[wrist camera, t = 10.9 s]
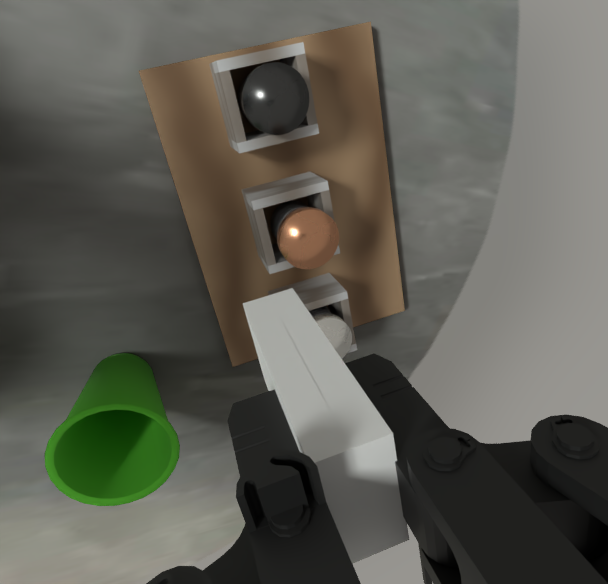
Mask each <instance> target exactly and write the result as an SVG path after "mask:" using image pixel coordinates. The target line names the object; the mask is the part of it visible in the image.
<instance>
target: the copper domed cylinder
mask: <svg viewBox="0 0 608 584" xmlns="http://www.w3.org/2000/svg"><path fill="white" fill-rule="evenodd" d="M270 225H271V231H272V233H273V235H274V236H275V238H276V239H277V244H278V248H279V250H280V252H281V254H282V255H283V256H284V258H285V259H286V260H287V261H288V262H289V263H290V264H291V265H293V266H295V267H297V268H300V269H314V268H318V267H320V266H322V265H324V264H325V263H327V262H328V261H329V260H330V259H331V258H332V256H333V255H334V253H335V252H336V250H337V247H338V243H339V231H338V227H337V225H336V223H335V221H334V220H333V219H332V218H331V217H330V216H329V215H327V214H326V213H325V212H323V211H322V210H320V209H318V208H314V207H308V206H307V205H305V204H304V203H302V202H299V201H288V202H285V203H283V204H281V205H280V206H278V207H277V208H276V210H275V211H274V213H273V214H272V217H271V223H270Z"/></svg>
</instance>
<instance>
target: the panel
mask: <svg viewBox="0 0 608 584" xmlns="http://www.w3.org/2000/svg"><path fill="white" fill-rule="evenodd" d="M273 62H279V63H284V64H287V65H289V66H291V67H293V68H294V69H296V70H297V71H298V72H299V73H300V74H301V76H302V77H303V79H304V80H305V82H306V84H307V87H308V91H309V108H308V111H307V114H306V116H305V118H304V120H303V121H302V123H301V124H300V125H299V126H298V127H297V128H296V129H294V130H293V131H291V132H289V133H286V134H283V135H271V134H267V133H265V132H262V131H260V130H258V129H257V128H255V127H254V126H253V125H252V124H251V123H250V122H249V121H248V119H247V118H246V116H245V115H244V114H243V113H242V111H241V109H240V107H239V104H238V90H239V87H240V85H241V83H242V81H243V80H244V79H245V78H246V77H247V76H248V75H249V74H250V73H251V72H252V71H253V70H254V69H256V68H257V67H259V66H261V65H264V64H267V63H273ZM139 73H140V76H141V80H142V83H143V86H144V89H145V92H146V95H147V99H148V102H149V105H150V108H151V111H152V114H153V117H154V121H155V124H156V127H157V130H158V133H159V136H160V139H161V143H162V146H163V149H164V152H165V155H166V158H167V162H168V165H169V168H170V171H171V174H172V177H173V180H174V184H175V187H176V190H177V193H178V196H179V199H180V202H181V206H182V209H183V212H184V215H185V218H186V221H187V225H188V228H189V231H190V234H191V237H192V240H193V243H194V247H195V250H196V253H197V256H198V259H199V262H200V265H201V269H202V272H203V275H204V278H205V281H206V284H207V288H208V291H209V294H210V297H211V300H212V303H213V306H214V310H215V313H216V316H217V319H218V322H219V325H220V328H221V332H222V335H223V338H224V341H225V344H226V347H227V351H228V354H229V357H230V360H231V363H232V366H233V367H234V366H237V365H241V364H244V363H247V362H250V361H253V360H256V359H258V355H257V352H256V348H255V345H254V341H253V338H252V335H251V331H250V328H249V324H248V321H247V317H246V314H245V310H244V307H243V303H246V302H249V301H252V300H255V299H259V298H262V297H265V296H268V295H272V294H275V293H278V292H281V291H285V290H288V289H291V288H293V289H294V291H295V292H296V294H297V295H298V297H299V298H300V300H301V301H302V302H303V304H304V305H305V307H306V308H307V310H308V311H310V310H313V309H317V308H320V307H323V306H326V307H327V308H328V309H329V310H330V312H331V313H332V314H334V315H337V316H339V317H340V318H341V319H343V321H344V322H345V323H346V324H347V325H348V327H349V328H350V330H351V333H352V344H351V347H350V349H349V351H348V352H347V353H350V352H353V351H356V350H357V346H356V341H355V335H354V329H353V327H356V326H359V325H362V324H365V323H368V322H372V321H375V320H378V319H381V318H384V317H387V316H390V315H393V314H396V313H399V312H402V311H405V309H404V301H403V292H402V284H401V275H400V267H399V258H398V250H397V241H396V233H395V224H394V216H393V207H392V199H391V190H390V182H389V173H388V165H387V156H386V148H385V139H384V131H383V122H382V114H381V105H380V97H379V88H378V80H377V71H376V63H375V54H374V46H373V37H372V29H371V22H367V23H362V24H357V25H353V26H348V27H343V28H338V29H334V30H329V31H324V32H320V33H315V34H310V35H305V36H301V37H296V38H291V39H287V40H282V41H277V42H272V43H268V44H263V45H258V46H254V47H249V48H244V49H239V50H235V51H230V52H225V53H221V54H216V55H211V56H206V57H202V58H197V59H192V60H188V61H183V62H178V63H173V64H169V65H164V66H159V67H155V68H150V69H145V70H140V71H139ZM288 201H299V202H302V203H304V204H305V205H307V206H308V207H314V208H318V209H320V210H322V211H323V212H325V213H326V214H327V215H329V216H330V217H331V218H332V219H333V220H334V221H335V223H336V225H337V227H338V231H339V243H338V247H337V250H336V252H335V253H334V255H333V256H332V258H331V259H330V260H329V261H328V262H327V263H325V264H324V265H322V266H320V267H318V268H314V269H300V268H297V267H295V266H293V265H291V264H290V263H289V262H288V261H287V260H286V259H285V258H284V256H283V255H282V254H281V252H280V250H279V248H278V244H277V239H276V238H275V236H274V235H273V233H272V231H271V225H270V223H271V217H272V214H273V213H274V211H275V210H276V208H277V207H278V206H280V205H281V204H283V203H285V202H288Z"/></svg>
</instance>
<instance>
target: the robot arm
mask: <svg viewBox="0 0 608 584" xmlns="http://www.w3.org/2000/svg"><path fill="white" fill-rule="evenodd" d="M243 307H244V310H245V314H246V317H247V321H248V324H249V328H250V331H251V335H252V338H253V341H254V345H255V348H256V352H257V355H258V359H259V362H260V366H261V369H262V373H263V376H264V380H265V382H266V385H267V388H268V390H269V391H268V392H266V393H263V394H260V395H257V396H254V397H251V398H248V399H245V400H242V401H239V402H237V403H234V404H233V406H232V409H231V412H230V415H229V418H228V424H229V428H230V433H231V437H232V442H233V446H234V451H235V455H236V460H237V464H238V469H239V473H240V479H239V481H238V483H237V490H236V498H237V501H238V504H239V506H240V509H241V512H242V514H243V517H244V520H245V522H246V523H245V527H244V529H243V531H242V533H241V535H240V537H239V538H238V540H237V541H236V542H235V544H234V545H233V546H232V547H231V548H230V549H229V550H228V551H227V552H226V553H225V554H224V555H223V556H221V557H220V558H219V559H217V560H216V561H215V562H213V563H212V564H211V565H209V566H208V567H207V568H206V569H204V570H203V571H202V570H200V569H198V568H196V567H194V566H177V567H175V568H172V569H169V570H166V571H164V572H162V573H160V574H159V575H157V576H156V577H155V578H153V579H152V580H151V581H149V582H148V583H146V584H360V581H359V579H358V576H357V574H356V572H355V569H354V567H353V565H352V564H353V563H355V562H357V561H360V560H362V559H364V558H367V557H369V556H371V555H374V554H376V553H378V552H381V551H383V550H386V549H388V548H390V547H393V546H395V545H398V544H400V543H402V542H405V541H407V540H409V535H408V529H407V524H408V525H409V527H410V529H411V530H412V532H413V534H414V536H415V537H416V539H417V541H418V543H419V550H420V558H421V565H422V572H423V579H424V583H425V584H432V582H433V583H434V584H608V428H607V427H605V426H603V425H601V424H600V423H597V422H594V421H592V420H589V419H587V418H584V417H579V416H572V415H559V416H550V417H548V418H546V419H544V420H541V421H539V422H538V423H537V424H536V425H535V427H534V428H533V429H532V433H531V441H522V442H511V443H501V444H485V443H480V442H478V441H477V440H476V439H474V438H473V437H472V436H470V435H469V434H467V433H464V432H462V431H459V430H456V429H450V428H449V427H448V426H447V425H446V424H445V423H444V422H443V421H442V420H441V418H440V417H439V416H438V415H437V414H436V413H435V411H434V410H433V409H432V408H431V407H430V406H429V405H428V403H427V402H426V401H425V400H424V399H423V398H422V397H421V396H420V394H419V393H418V392H417V391H416V390H415V388H414V387H413V388H412V385H411V384H410V383H409V381H408V380H407V379H406V378H405V377H403V375H402V373H401V372H400V371H399V370H398V369H397V368H396V366H395V365H394V364H393V363H392V362H391V361H389V360H387V359H385V358H382V357H380V356H378V355H376V354H372V355H369V356H366V357H363V358H360V359H357V360H354V361H351V362H348V363H344V362H343V360H342V359H341V357H340V356H339V354H338V353H337V352H336V350H335V349H334V347H333V346H332V344H331V343H330V341H329V340H328V339H327V337H326V336H325V334H324V333H323V331H322V330H321V328H320V327H319V326H318V324H317V323H316V321H315V320H314V318H313V317H312V315H311V314H310V313H309V311H308V310H307V308H306V307H305V305H304V304H303V302H302V301H301V300H300V298H299V297H298V295H297V294H296V292H295V291H294V289H293V288H291V289H288V290H285V291H281V292H278V293H275V294H272V295H268V296H265V297H262V298H259V299H255V300H252V301H249V302H246V303H243Z"/></svg>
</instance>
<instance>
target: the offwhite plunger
mask: <svg viewBox="0 0 608 584" xmlns="http://www.w3.org/2000/svg"><path fill="white" fill-rule="evenodd" d="M309 313H310V314H311V315H312V317H313V318H314V320H315V321H316V323H317V324H318V326H319V327H320V328H321V330H322V331H323V333H324V334H325V336H326V337H327V339H328V340H329V341H330V343H331V344H332V346H333V347H334V349H335V350H336V352H337V353H338V354H339V356H340V357H341V359H342V358H343V357H344V356H345V355H346V354H347V352H348V351H349V349H350V347H351V344H352V333H351V330H350V328H349V327H348V325H347V324H346V323H345V322H344V321H343V319H341V318H340V317H339V316H337V315H334V314H332V313H331V312H330V310H329V309H328V308H327V307H326V306H323V307H320V308H317V309H313V310H310V311H309Z"/></svg>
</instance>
